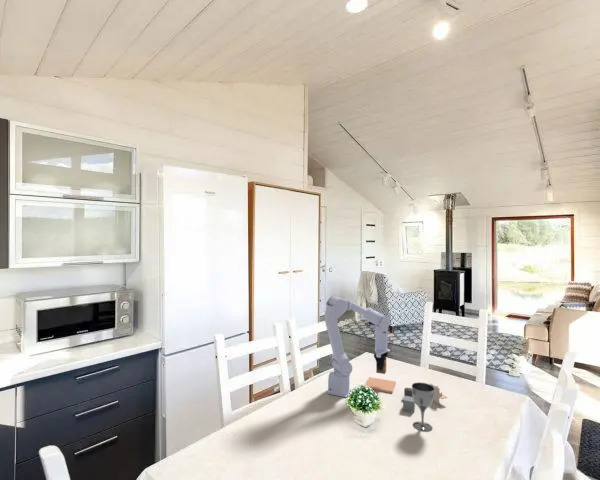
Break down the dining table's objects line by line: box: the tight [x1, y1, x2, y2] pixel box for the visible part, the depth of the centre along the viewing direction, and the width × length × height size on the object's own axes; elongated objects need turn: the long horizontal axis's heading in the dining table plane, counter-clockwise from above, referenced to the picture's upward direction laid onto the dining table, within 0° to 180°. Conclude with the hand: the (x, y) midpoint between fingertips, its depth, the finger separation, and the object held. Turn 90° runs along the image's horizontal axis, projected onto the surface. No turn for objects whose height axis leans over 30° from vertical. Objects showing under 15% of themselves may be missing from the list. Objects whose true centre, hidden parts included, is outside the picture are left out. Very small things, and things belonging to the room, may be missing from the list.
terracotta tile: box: [364, 376, 397, 394], centre depth 166 cm, size 13×12×1 cm
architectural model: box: [429, 383, 448, 405], centre depth 150 cm, size 3×7×7 cm, turn 20°
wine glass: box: [411, 382, 434, 433], centre depth 130 cm, size 8×8×15 cm
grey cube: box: [402, 396, 416, 413], centre depth 144 cm, size 4×4×4 cm
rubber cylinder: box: [403, 387, 413, 397], centre depth 153 cm, size 4×4×4 cm
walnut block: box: [375, 358, 387, 375], centre depth 165 cm, size 4×4×6 cm
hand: (381, 368), depth 165 cm, fingers closed on walnut block, 4 cm apart
